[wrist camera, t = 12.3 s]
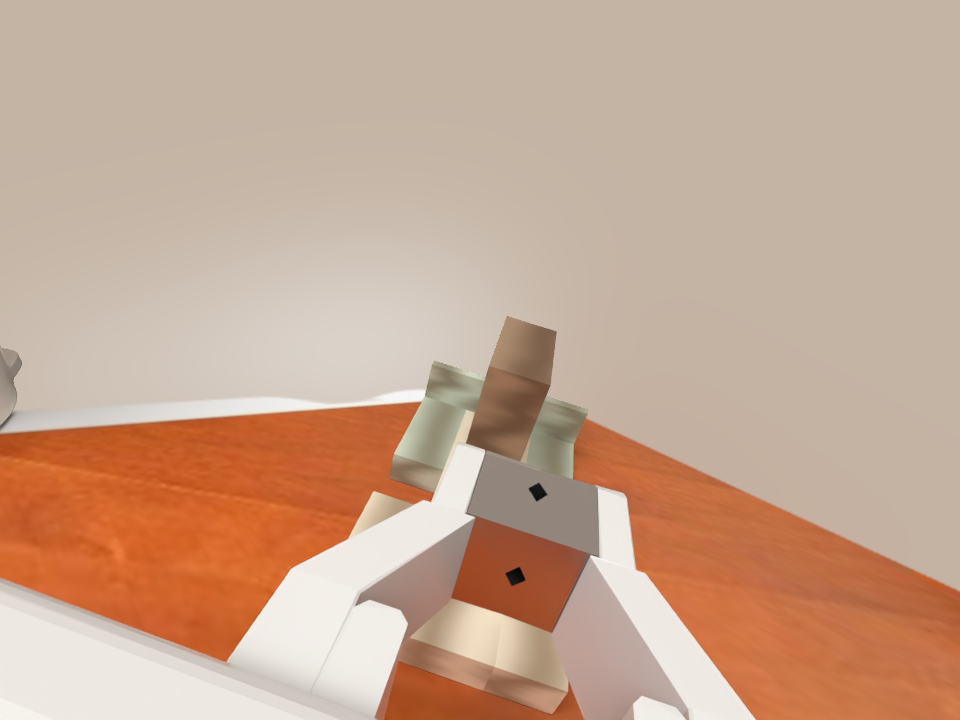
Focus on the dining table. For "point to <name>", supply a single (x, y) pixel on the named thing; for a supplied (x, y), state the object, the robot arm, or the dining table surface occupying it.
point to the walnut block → (513, 389)
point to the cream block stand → (458, 625)
